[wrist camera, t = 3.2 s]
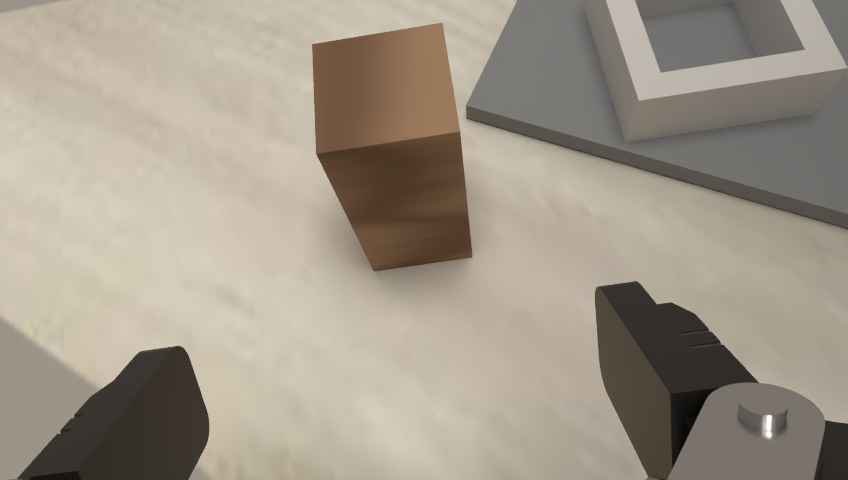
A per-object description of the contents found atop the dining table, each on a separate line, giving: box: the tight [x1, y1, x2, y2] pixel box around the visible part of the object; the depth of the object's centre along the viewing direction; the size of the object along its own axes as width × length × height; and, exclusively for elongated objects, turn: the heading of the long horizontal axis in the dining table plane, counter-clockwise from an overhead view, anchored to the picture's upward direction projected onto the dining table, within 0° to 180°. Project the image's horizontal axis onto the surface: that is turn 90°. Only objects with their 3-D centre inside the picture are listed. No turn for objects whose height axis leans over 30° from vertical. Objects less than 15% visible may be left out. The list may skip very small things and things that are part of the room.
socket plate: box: [466, 0, 848, 228], centre depth 28 cm, size 18×12×4 cm, turn 66°
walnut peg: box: [312, 23, 472, 271], centre depth 23 cm, size 4×4×10 cm
